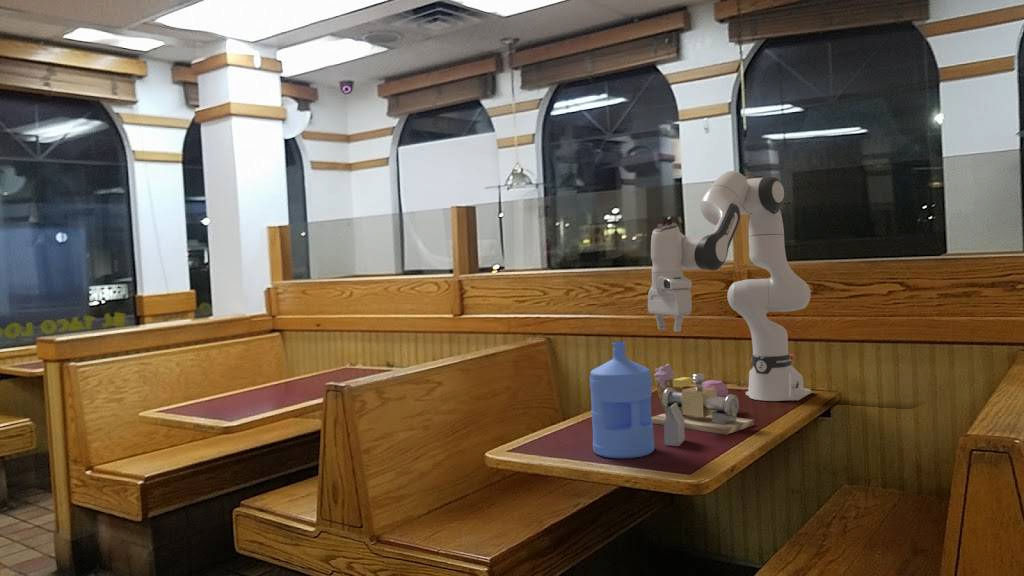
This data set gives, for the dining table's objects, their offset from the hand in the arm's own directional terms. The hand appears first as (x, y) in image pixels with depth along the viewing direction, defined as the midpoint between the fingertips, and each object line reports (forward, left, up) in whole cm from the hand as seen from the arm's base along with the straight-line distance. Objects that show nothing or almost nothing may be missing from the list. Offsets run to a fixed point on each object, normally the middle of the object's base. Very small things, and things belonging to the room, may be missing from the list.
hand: (669, 330), depth 238 cm
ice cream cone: (-14, -13, -28) cm, 34 cm away
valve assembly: (-5, +6, -27) cm, 28 cm away
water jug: (+32, +8, -28) cm, 43 cm away
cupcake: (-21, 0, -28) cm, 35 cm away
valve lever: (-1, +6, -15) cm, 16 cm away
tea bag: (+17, +13, -28) cm, 35 cm away
